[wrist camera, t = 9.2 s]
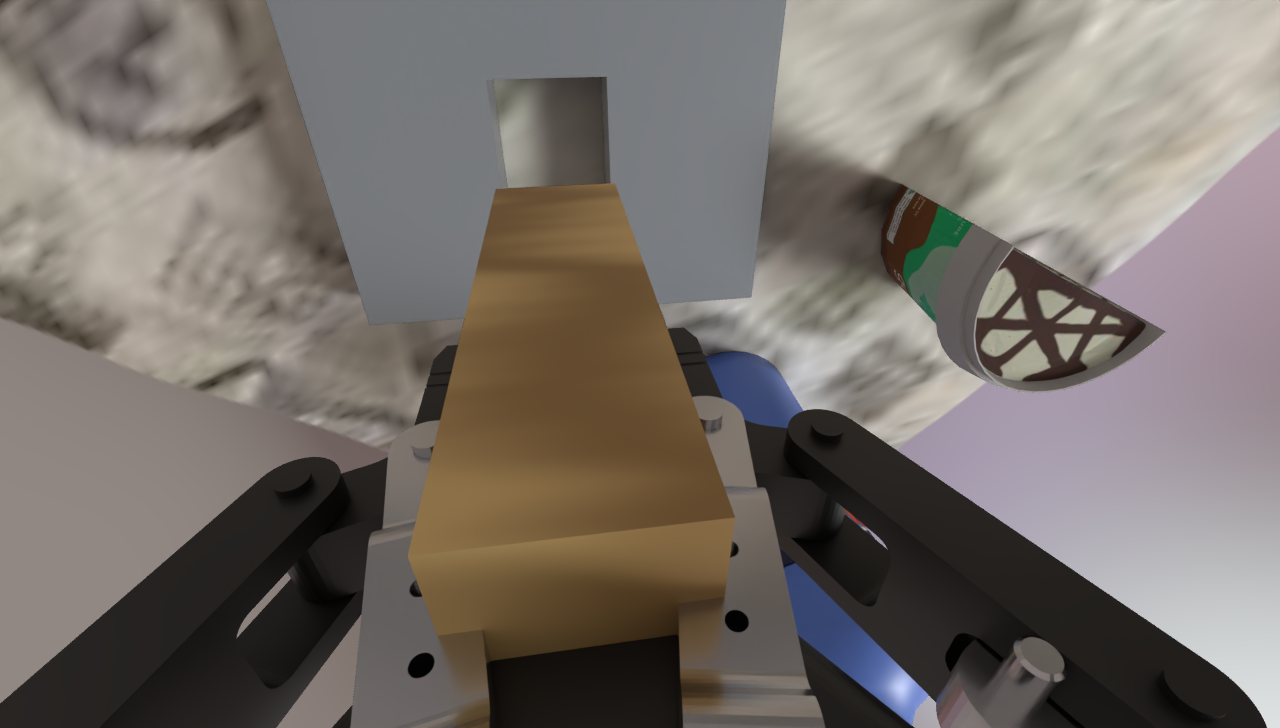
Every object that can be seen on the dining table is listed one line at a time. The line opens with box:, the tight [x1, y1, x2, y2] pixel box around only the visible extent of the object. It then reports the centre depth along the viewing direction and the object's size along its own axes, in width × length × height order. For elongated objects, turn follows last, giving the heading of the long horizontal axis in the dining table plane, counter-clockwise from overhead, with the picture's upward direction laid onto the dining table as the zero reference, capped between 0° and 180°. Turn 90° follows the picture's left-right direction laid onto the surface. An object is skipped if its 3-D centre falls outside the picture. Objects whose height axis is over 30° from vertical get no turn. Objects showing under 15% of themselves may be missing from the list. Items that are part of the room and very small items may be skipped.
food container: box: [881, 185, 1166, 393], centre depth 30 cm, size 12×6×10 cm, turn 64°
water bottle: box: [705, 352, 929, 725], centre depth 28 cm, size 9×9×25 cm
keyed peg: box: [407, 183, 735, 661], centre depth 11 cm, size 3×6×11 cm, turn 0°
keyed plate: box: [266, 0, 786, 325], centre depth 27 cm, size 14×20×3 cm
